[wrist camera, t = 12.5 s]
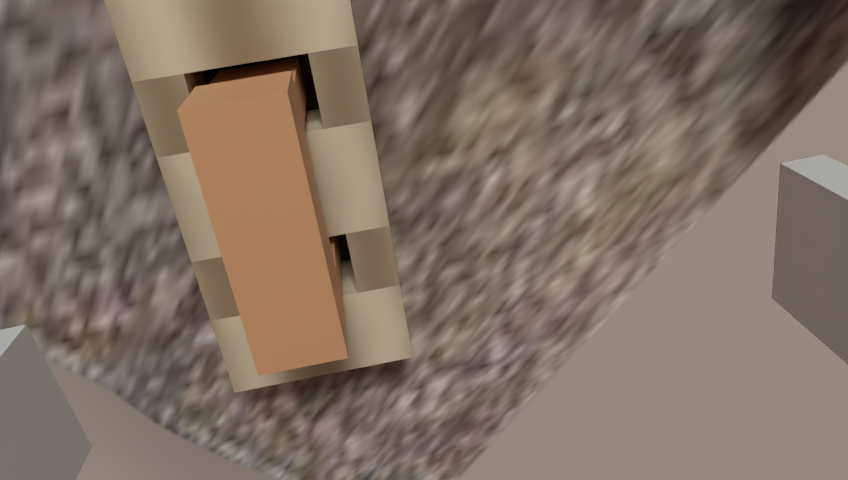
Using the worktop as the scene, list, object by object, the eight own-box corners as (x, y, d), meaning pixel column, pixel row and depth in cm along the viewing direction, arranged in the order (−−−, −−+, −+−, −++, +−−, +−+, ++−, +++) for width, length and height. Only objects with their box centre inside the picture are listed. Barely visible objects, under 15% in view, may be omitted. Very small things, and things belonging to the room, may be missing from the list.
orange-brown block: (215, 60, 33) (176, 110, 24) (296, 47, 33) (287, 91, 24) (272, 270, 38) (258, 375, 29) (341, 257, 38) (348, 358, 29)
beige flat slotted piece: (335, -72, 31) (337, -72, 27) (404, 319, 41) (412, 357, 37) (119, -39, 30) (92, -35, 27) (242, 351, 40) (234, 392, 36)
